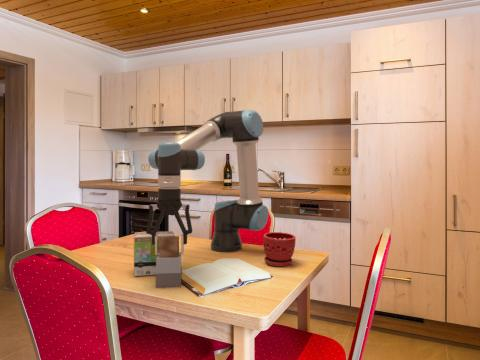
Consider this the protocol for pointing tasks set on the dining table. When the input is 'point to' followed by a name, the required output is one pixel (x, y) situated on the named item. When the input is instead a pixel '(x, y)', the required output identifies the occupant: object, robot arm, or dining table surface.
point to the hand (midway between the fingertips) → (169, 253)
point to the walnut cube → (169, 247)
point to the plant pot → (279, 248)
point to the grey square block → (168, 265)
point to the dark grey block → (168, 280)
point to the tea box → (146, 253)
